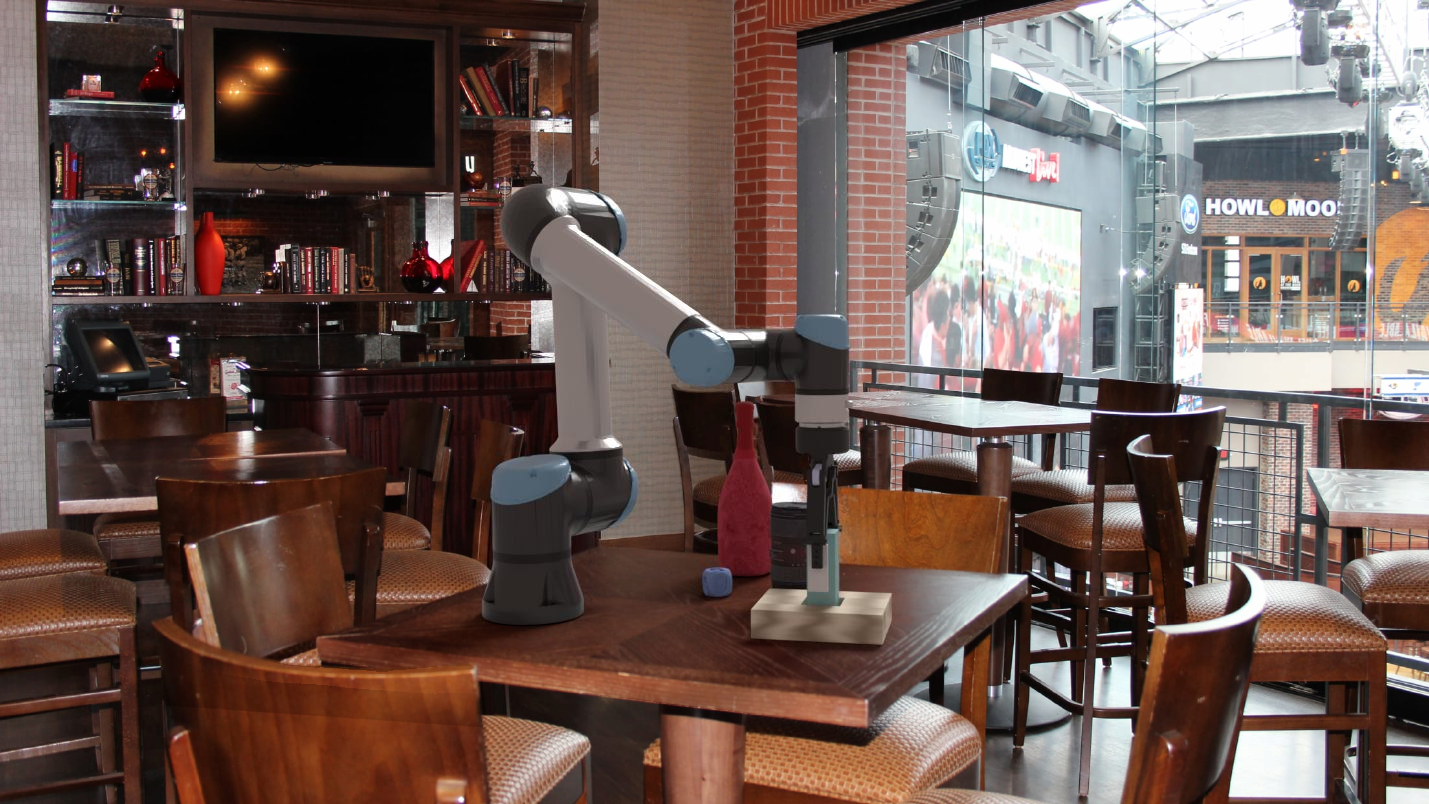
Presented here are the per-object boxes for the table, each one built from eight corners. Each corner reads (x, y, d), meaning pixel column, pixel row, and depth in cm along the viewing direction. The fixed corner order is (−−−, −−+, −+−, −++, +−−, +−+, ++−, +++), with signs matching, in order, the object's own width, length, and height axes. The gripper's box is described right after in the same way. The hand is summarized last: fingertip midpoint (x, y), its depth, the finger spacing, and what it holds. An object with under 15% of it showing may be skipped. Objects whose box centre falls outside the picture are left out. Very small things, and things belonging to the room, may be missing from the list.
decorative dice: (726, 591, 200) (725, 566, 200) (732, 596, 196) (732, 571, 196) (702, 592, 199) (702, 568, 199) (708, 597, 195) (708, 572, 195)
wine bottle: (719, 567, 220) (717, 399, 218) (773, 567, 219) (772, 399, 218) (716, 578, 210) (715, 403, 208) (774, 578, 210) (773, 402, 208)
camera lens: (818, 605, 189) (818, 508, 188) (766, 603, 190) (766, 507, 189) (824, 593, 197) (824, 501, 196) (774, 592, 198) (774, 500, 197)
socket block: (751, 638, 169) (750, 609, 168) (769, 615, 182) (769, 588, 182) (882, 644, 165) (882, 615, 164) (891, 620, 178) (891, 593, 178)
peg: (807, 632, 172) (806, 532, 171) (811, 625, 176) (810, 528, 175) (835, 633, 171) (835, 533, 170) (839, 626, 175) (838, 529, 174)
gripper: (839, 431, 160) (839, 601, 162) (858, 419, 181) (858, 570, 183) (782, 430, 162) (783, 599, 163) (807, 418, 183) (808, 568, 184)
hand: (823, 584), depth 173 cm, fingers open, 9 cm apart
